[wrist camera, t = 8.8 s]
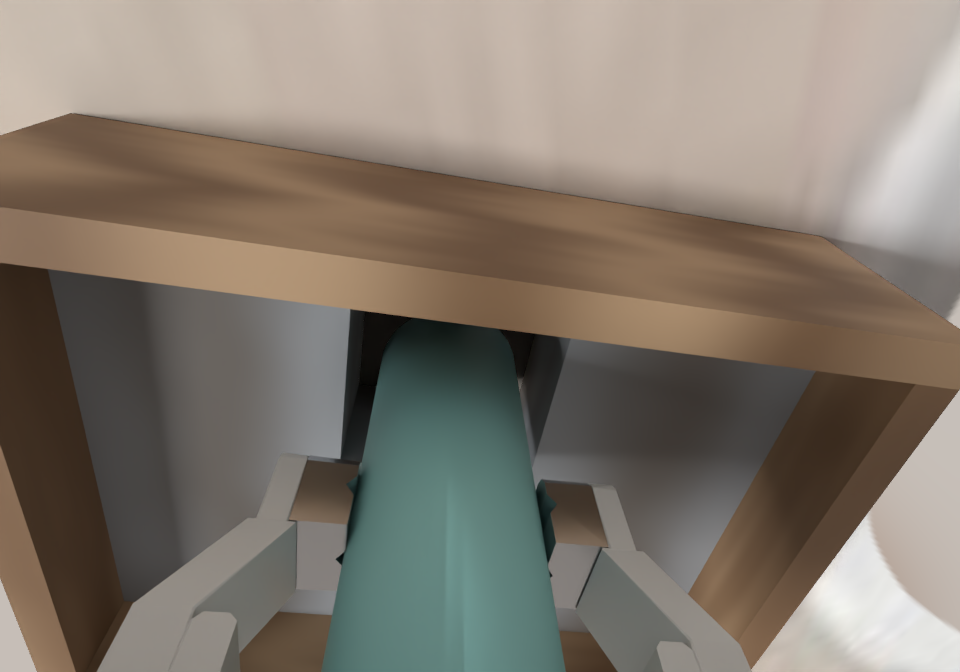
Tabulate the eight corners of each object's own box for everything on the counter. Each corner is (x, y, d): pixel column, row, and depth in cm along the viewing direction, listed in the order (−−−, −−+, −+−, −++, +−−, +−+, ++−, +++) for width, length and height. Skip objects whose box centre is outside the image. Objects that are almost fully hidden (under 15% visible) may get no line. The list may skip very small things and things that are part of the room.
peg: (387, 301, 14) (224, 1073, 4) (526, 320, 15) (694, 1061, 5) (376, 412, 16) (242, 1143, 6) (500, 426, 17) (577, 1128, 6)
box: (145, 530, 21) (48, 700, 16) (70, 113, 14) (-155, 184, 9) (651, 572, 24) (705, 731, 19) (821, 236, 16) (989, 348, 11)
